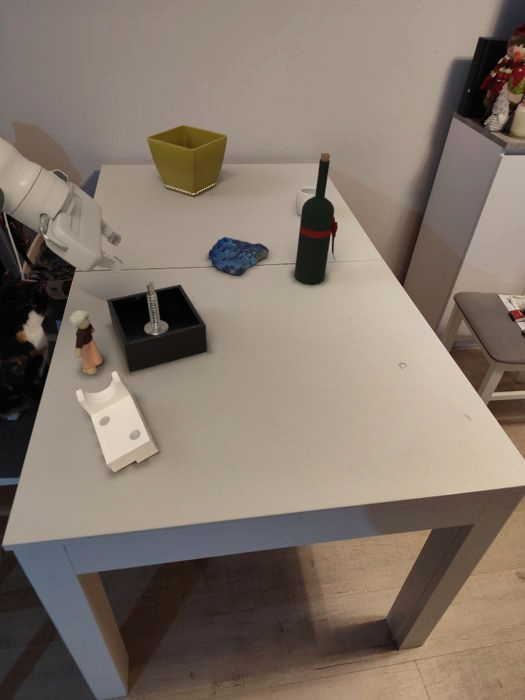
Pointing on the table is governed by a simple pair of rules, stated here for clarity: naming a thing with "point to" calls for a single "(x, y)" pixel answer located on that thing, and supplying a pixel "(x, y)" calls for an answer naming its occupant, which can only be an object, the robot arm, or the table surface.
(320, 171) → the wine bottle
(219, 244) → the rock
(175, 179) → the flower pot
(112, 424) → the bracket
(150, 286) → the screw
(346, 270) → the table surface
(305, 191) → the mug
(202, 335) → the open box
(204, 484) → the table surface
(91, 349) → the grandmother figurine
